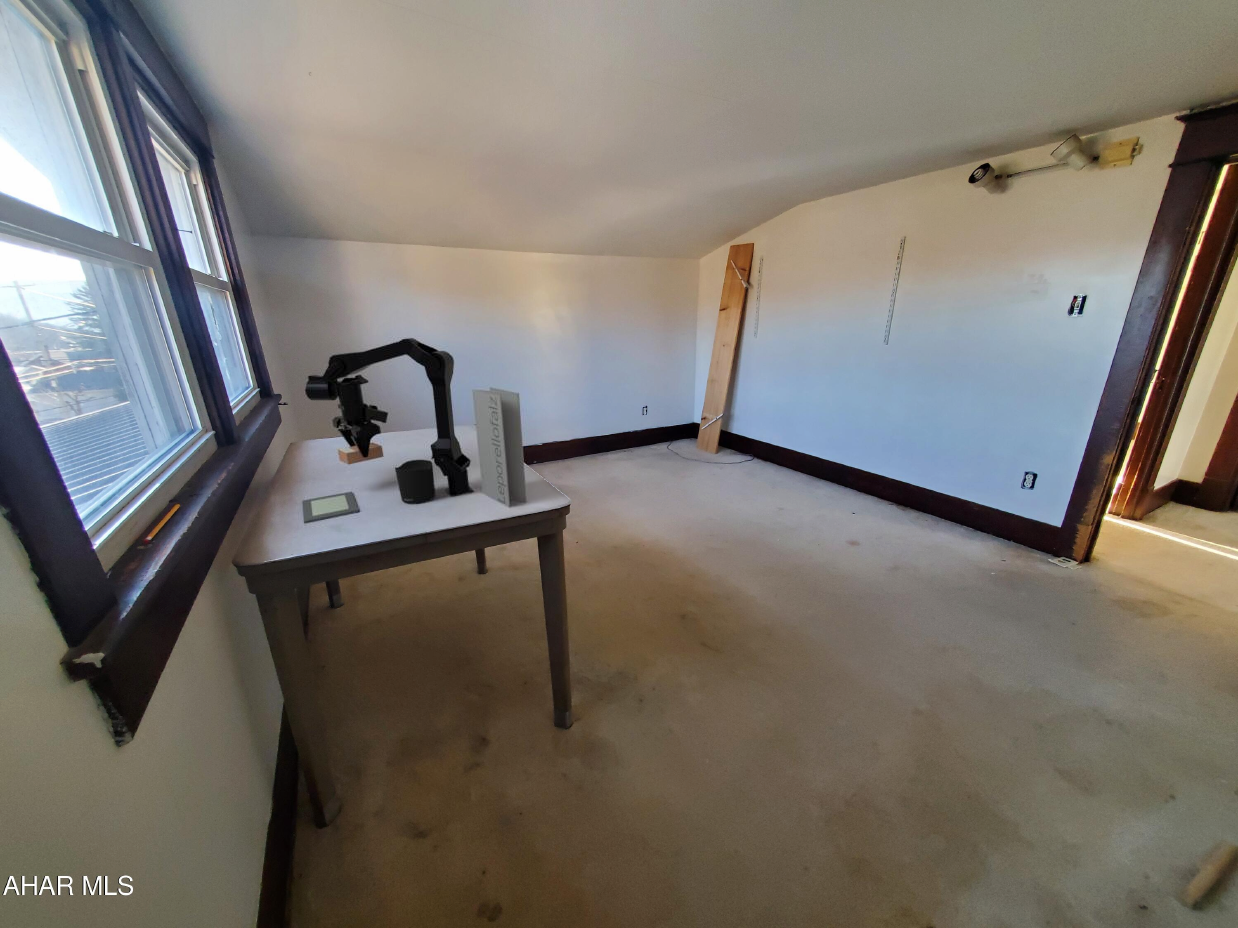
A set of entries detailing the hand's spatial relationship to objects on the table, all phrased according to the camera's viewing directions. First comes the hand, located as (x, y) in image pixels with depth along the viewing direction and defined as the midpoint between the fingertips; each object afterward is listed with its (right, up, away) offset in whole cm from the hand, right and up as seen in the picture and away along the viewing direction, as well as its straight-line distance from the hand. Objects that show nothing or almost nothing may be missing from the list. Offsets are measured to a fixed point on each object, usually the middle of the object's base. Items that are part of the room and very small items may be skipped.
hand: (361, 455), depth 130 cm
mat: (-4, -14, -7) cm, 17 cm away
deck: (0, -1, 0) cm, 1 cm away
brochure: (+41, -12, -1) cm, 43 cm away
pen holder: (+17, -13, -2) cm, 21 cm away
